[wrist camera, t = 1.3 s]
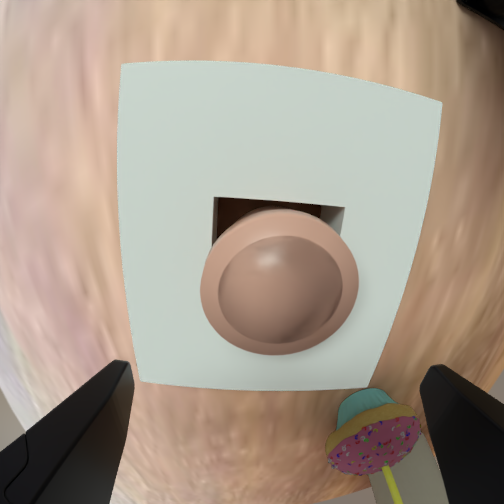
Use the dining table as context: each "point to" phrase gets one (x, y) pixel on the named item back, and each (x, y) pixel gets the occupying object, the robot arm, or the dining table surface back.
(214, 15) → the dining table surface
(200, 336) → the button box
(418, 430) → the cupcake
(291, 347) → the button
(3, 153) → the dining table surface
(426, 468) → the travel mug
